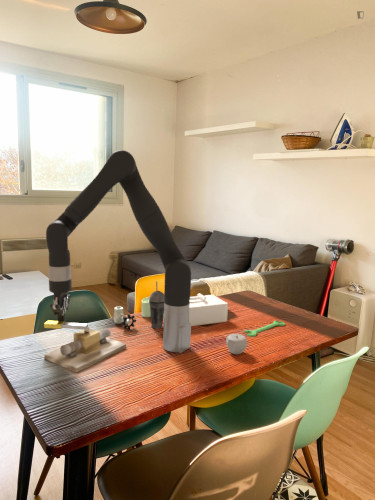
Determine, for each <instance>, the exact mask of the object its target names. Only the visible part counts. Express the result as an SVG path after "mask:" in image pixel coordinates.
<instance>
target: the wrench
mask: <svg viewBox="0 0 375 500" xmlns="http://www.w3.org/2000/svg"><path fill="white" fill-rule="evenodd" d="M285 325H286V323H285V322H283V321H280V320H274V321H273V322H272V323H271V324H268V325H263V327H259V328H256V329H254V330H252V329H247V330H246V329H245V330H243V333H246V337H256V336H257V334H258V333H260V332H261V333H262V332H264V331H267V330H269V329H272V328H274V327H277V326H280V327H284V326H285Z"/></svg>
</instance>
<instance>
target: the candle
mask: <svg viewBox="0 0 375 500" xmlns="http://www.w3.org/2000/svg"><path fill="white" fill-rule="evenodd" d="M149 298H150V296H147V297H143V299H141V317H142V318H151V313H150V304H149Z"/></svg>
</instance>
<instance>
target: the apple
mask: <svg viewBox="0 0 375 500" xmlns="http://www.w3.org/2000/svg"><path fill="white" fill-rule="evenodd" d="M225 343H226V346H227V349H228V351H229V353H231V354H232V355H240V354H242V353H244V351H245V350H246V349H247V346H248V340H247V338H246V336H245V335H243V334H239V333H231V334H229V335H227V337H226V339H225Z"/></svg>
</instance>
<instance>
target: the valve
mask: <svg viewBox="0 0 375 500" xmlns="http://www.w3.org/2000/svg"><path fill="white" fill-rule="evenodd" d="M113 312H114V313H113V323H114V324H118V325H119V324H121V325H123V326H122V329H127V330H128V331H130V330H131V327H132V328H134V327H135V324H134V323H136V322H137V320H136V319H135V315H134V314H132V315H131V314H130V313H127V314H126V315H125V313H124V307H122V306H115V307H113Z"/></svg>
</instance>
